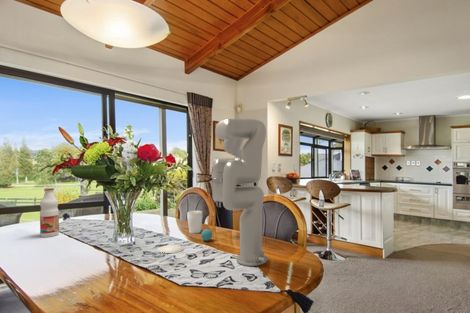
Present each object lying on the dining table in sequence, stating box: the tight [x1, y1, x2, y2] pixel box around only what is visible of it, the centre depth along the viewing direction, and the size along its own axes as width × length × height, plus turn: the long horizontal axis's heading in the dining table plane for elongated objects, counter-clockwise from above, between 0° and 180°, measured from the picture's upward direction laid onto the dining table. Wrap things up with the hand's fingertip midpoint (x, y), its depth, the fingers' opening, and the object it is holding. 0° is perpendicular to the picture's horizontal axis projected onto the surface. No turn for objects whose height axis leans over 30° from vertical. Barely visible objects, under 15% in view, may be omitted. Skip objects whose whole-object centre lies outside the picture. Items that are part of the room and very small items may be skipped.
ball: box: [200, 228, 213, 242], centre depth 152 cm, size 6×6×6 cm
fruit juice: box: [39, 187, 60, 238], centre depth 170 cm, size 9×9×28 cm
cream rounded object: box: [156, 244, 185, 254], centre depth 139 cm, size 13×13×1 cm
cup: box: [186, 210, 203, 234], centre depth 171 cm, size 9×9×12 cm
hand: (220, 213), depth 159 cm, fingers closed
